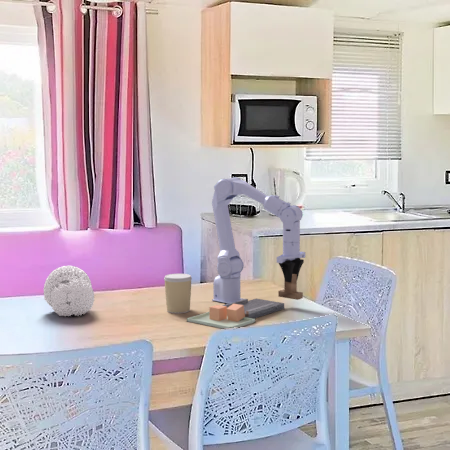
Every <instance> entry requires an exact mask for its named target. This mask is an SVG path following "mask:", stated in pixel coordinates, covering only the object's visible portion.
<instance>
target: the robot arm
mask: <svg viewBox="0 0 450 450" xmlns="http://www.w3.org/2000/svg"><path fill="white" fill-rule="evenodd" d="M213 189H214V192H213V196H212V201H211V205H212V211H213V217H214V223H215V229H216V234H217V240H218V246H219V254H218V255H217V257H216V258H217V266H216V271H217V274H218V275H217V276H215V278H214V279H213V299H211V301H212V302H218V303H224V304H229V303H232V302H236V301H239V300H243V299H244V298H242V296H241V274H242V272H243V270H244V268H245V267H244V266H245V264H244V261H243V259H242V257H241V253H240V252H239V250H237V248H236V246H235V241H234V232H233V227H232V222H231V216H230V210H229V205H230V203H231V202H232V200H233V199H234V198H236V197H238V195H239V196H240V195H244V196H246V197H248V198H250V199H252V200H254V201H256V202H257V203H259V204H262V205H263V209H264V210H265V211H267V212H268V213H271V214H272V215H274V216H276V217H277V218H279V219H280V221H281V222H282V254H280V255H278V256H276V263H277V264H278V265H279V267H280V269H281V272H282V274H283V277H284V279H285V282H291V281H292V274H297V280H298V278H299V276H300V275H299V274H300V270H301V268H302V267H303V265H304V262H305V261H304V258H306V252H305V251H300V250H301V248H300V247H301V246H300V244H301V243H300V242H301V239H300V238H301V228H300V227H301V223H300V221H301V220H302V218H303V209H301V208H300V207H299V206H298V205H296V204H295V205H293V204H292V205H291V203H290V202H289V201H287V202H286V201H284V200H282V199H281V198H280V196H279V195H278V194H275V195H274V194H271V195H267V194H265V193H264V192H262V190H261V191H260V190H259V189H258V188H257V187H255V186H253V185H251V184H249V183H248V182H247V181H246V180H243V179H241V178H240V177H237V176H234V177H229V178H228V177H227V178H225V177H224V178H221V179H219V180H218V181H217V182H216V184H215V185H214V186H213ZM302 258H303V259H302Z"/></svg>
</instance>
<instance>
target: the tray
mask: <svg viewBox="0 0 450 450" xmlns="http://www.w3.org/2000/svg"><path fill="white" fill-rule="evenodd" d="M186 322H189V323H194V324H198V325H203V326H207V327H212V328H216V329H217V328H218V329H222V330H224V329H223V328H234V327H239V328H241V327H242V328H243V327H245V326H248V325H252V324H254V323H256V318H255V319H252V318H247V317H244V318H243V319H241V320H240V321H238V322H236V321H231V320H228V317H227V319H224V320H221V321H216V320H211V319H210V315H209V311H207V312H204V313H201V314H197V315H196V314H195V315H193V316H190V317H187V318H186Z"/></svg>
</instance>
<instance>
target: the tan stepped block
mask: <svg viewBox="0 0 450 450" xmlns="http://www.w3.org/2000/svg"><path fill="white" fill-rule="evenodd" d="M297 281H298V279H297V274H292V281H291V282H285V279H284V283H283V284H284V285H283V286H284V287H283V288H284V289H280V290H278V292H277V293H278V297H279V298H284V299H290V300H297V301H298V300H302V299H303V297H304V293H303V292H301V291H297V289H298V288H297V287H298V286H297V283H298V282H297Z"/></svg>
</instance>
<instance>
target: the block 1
mask: <svg viewBox="0 0 450 450" xmlns="http://www.w3.org/2000/svg"><path fill="white" fill-rule="evenodd" d="M208 308H209V309H208V310H209V311H208V312H209V315H210V319H211V320H216V321H221V320H224V319H227V311H226V308H227V306H222V304H215V305H212V306H209V307H208Z"/></svg>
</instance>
